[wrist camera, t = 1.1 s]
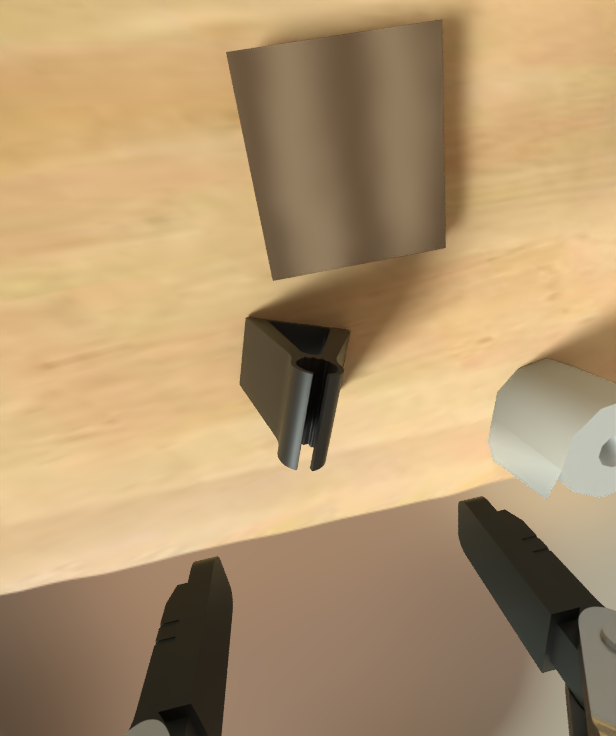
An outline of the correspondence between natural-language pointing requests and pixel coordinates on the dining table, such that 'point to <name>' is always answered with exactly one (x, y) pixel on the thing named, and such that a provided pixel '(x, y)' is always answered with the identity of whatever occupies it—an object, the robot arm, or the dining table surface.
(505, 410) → the toilet tissue
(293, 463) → the phone stand
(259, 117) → the walnut block
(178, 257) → the dining table surface
